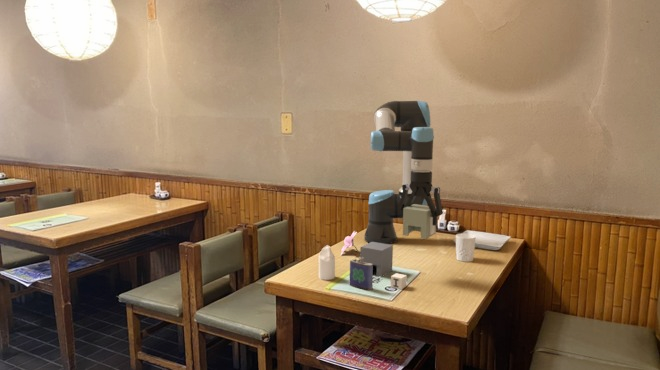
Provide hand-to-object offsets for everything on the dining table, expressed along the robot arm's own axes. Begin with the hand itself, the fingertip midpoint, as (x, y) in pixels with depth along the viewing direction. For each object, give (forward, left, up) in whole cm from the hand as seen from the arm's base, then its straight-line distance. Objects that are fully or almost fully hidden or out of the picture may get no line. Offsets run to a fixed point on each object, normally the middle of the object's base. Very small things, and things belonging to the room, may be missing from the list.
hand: (419, 231), depth 181 cm
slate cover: (-15, -4, -17) cm, 23 cm away
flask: (-12, -22, -17) cm, 30 cm away
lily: (-37, +12, -17) cm, 42 cm away
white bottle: (-27, -20, -17) cm, 38 cm away
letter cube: (-1, -14, -17) cm, 22 cm away
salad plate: (+7, +58, -17) cm, 61 cm away
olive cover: (0, 0, -1) cm, 1 cm away
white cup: (+8, +30, -17) cm, 35 cm away
